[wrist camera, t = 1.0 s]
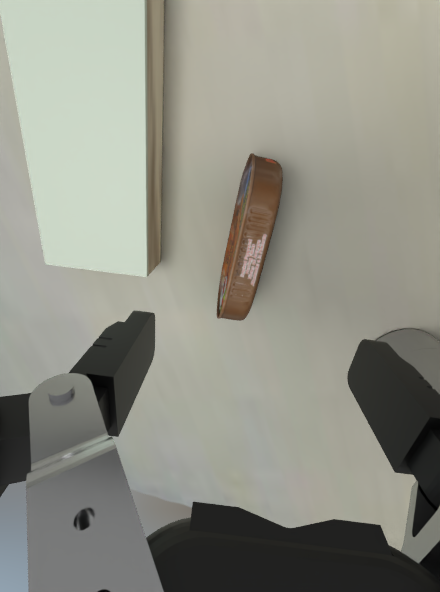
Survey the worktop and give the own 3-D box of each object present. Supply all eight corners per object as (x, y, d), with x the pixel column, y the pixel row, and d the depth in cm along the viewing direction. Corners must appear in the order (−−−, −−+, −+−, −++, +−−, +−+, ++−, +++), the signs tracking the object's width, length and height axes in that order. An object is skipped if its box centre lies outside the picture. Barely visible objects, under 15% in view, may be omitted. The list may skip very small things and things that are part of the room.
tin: (245, 155, 25) (249, 147, 18) (277, 162, 25) (295, 157, 18) (216, 295, 31) (209, 333, 24) (242, 300, 32) (243, 340, 24)
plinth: (164, -4, 21) (143, -55, 16) (160, 261, 30) (146, 277, 25) (39, -19, 21) (-16, -73, 16) (74, 250, 30) (45, 264, 26)
